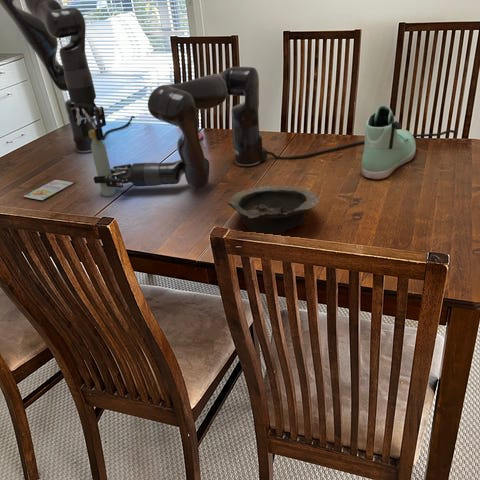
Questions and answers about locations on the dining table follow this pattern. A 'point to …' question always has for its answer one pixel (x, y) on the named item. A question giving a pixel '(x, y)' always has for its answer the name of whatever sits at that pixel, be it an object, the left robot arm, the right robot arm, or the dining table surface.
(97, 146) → the bottle
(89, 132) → the cap
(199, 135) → the candy cane
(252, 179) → the dining table surface
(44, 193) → the baking ingredient package
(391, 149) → the sneaker
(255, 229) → the stone bowl
